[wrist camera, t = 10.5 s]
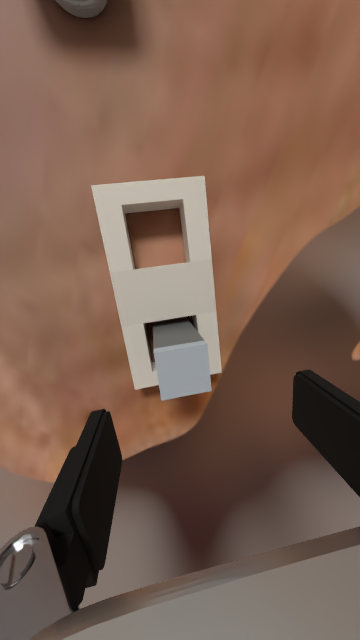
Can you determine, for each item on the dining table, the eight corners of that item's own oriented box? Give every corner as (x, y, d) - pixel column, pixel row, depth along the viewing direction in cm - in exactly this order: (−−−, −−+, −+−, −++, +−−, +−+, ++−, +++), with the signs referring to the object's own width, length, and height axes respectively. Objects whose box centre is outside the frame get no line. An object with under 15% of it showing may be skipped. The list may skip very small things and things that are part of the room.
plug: (186, 317, 23) (207, 343, 14) (189, 348, 24) (211, 391, 15) (152, 322, 23) (153, 352, 14) (157, 354, 24) (161, 400, 15)
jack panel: (197, 187, 20) (204, 175, 18) (214, 363, 25) (221, 372, 23) (98, 196, 19) (91, 185, 17) (136, 378, 24) (135, 389, 21)
